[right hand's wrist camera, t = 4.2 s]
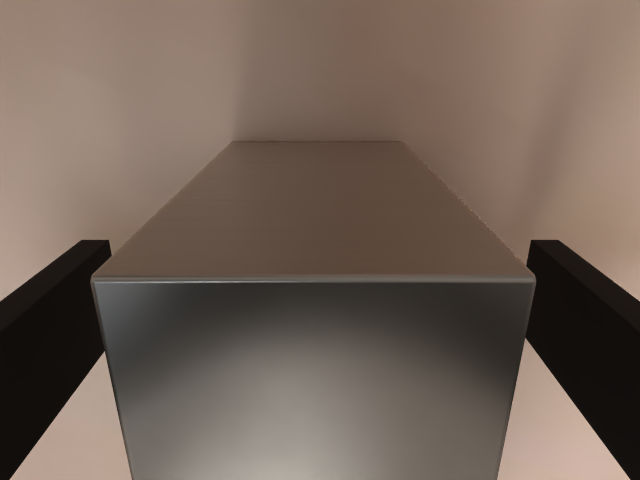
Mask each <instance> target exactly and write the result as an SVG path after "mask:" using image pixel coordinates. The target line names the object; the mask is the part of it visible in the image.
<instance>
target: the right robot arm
mask: <svg viewBox="0 0 640 480" xmlns="http://www.w3.org/2000/svg"><path fill="white" fill-rule="evenodd" d="M111 256H112V254H111V249H110V244H109V240H81V241H80V242H78V243H77V244H76V245H74V246H73V247H72V248H70V249H69V250H68V251H66V252H65V253H64V254H62V255H61V256H60V257H59V258H57V259H56V260H55V261H53V262H52V263H51V264H49V265H48V266H47V267H45V268H44V269H43V270H41V271H40V272H39V273H37V274H36V275H35V276H33V277H32V278H31V279H29V280H28V281H27V282H26V283H24V284H23V285H22V286H20V287H19V288H18V289H16V290H15V291H14V292H12V293H11V294H10V295H8V296H7V297H6V298H4V299H3V300H2V301H0V480H10V478H11V477H12V476H13V474H14V473H15V472H16V470H17V469H18V467H19V466H20V465H21V463H22V462H23V461H24V459H25V458H26V457H27V455H28V454H29V453H30V451H31V450H32V448H33V447H34V446H35V444H36V443H37V442H38V440H39V439H40V438H41V436H42V435H43V434H44V432H45V431H46V430H47V428H48V427H49V425H50V424H51V423H52V421H53V420H54V419H55V417H56V416H57V415H58V413H59V412H60V411H61V409H62V408H63V407H64V405H65V404H66V402H67V401H68V400H69V398H70V397H71V396H72V394H73V393H74V392H75V390H76V389H77V388H78V386H79V385H80V384H81V382H82V381H83V379H84V378H85V377H86V375H87V374H88V373H89V371H90V370H91V369H92V367H93V366H94V365H95V363H96V362H97V361H98V359H99V358H100V356H101V355H102V354H103V352H104V351H105V349H104V345H103V340H102V335H101V330H100V326H99V321H98V316H97V312H96V307H95V302H94V297H93V293H92V288H91V283H90V281H91V276H92V274H93V273H94V272H96V271H97V270H98V269H99V268H100V267H101V266H102V265H103V264H104V263H105V262H106V261H107V260H108V259H109V258H110V257H111ZM526 267H527V268H528V269H529V270H530V271H531V272H532V273H533V274H534V275H535V278H536V285H535V291H534V296H533V301H532V306H531V311H530V316H529V321H528V326H527V331H526V336H525V338H526V339H527V340H528V342H529V343H530V344H531V346H532V347H533V348H534V350H535V351H536V352H537V354H538V355H539V356H540V358H541V359H542V361H543V362H544V363H545V365H546V366H547V367H548V369H549V370H550V371H551V373H552V374H553V375H554V377H555V378H556V379H557V381H558V382H559V384H560V385H561V386H562V388H563V389H564V390H565V392H566V393H567V394H568V396H569V397H570V398H571V400H572V401H573V402H574V404H575V405H576V407H577V408H578V409H579V411H580V412H581V413H582V415H583V416H584V417H585V419H586V420H587V421H588V423H589V424H590V425H591V427H592V428H593V430H594V431H595V432H596V434H597V435H598V436H599V438H600V439H601V440H602V442H603V443H604V444H605V446H606V447H607V448H608V450H609V451H610V453H611V454H612V455H613V457H614V458H615V459H616V461H617V462H618V463H619V465H620V466H621V467H622V469H623V470H624V471H625V473H626V474H627V476H628V477H629V478H630V480H640V301H638V300H637V299H636V298H634V297H633V296H632V295H630V294H629V293H628V292H626V291H625V290H624V289H622V288H621V287H620V286H618V285H617V284H616V283H615V282H613V281H612V280H611V279H609V278H608V277H607V276H605V275H604V274H603V273H601V272H600V271H599V270H597V269H596V268H595V267H593V266H592V265H591V264H589V263H588V262H587V261H585V260H584V259H583V258H581V257H580V256H579V255H578V254H576V253H575V252H574V251H572V250H571V249H570V248H568V247H567V246H566V245H564V244H563V243H562V242H560V241H559V240H531V244H530V249H529V254H528V260H527V265H526Z"/></svg>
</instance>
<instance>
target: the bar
mask: <svg viewBox="0 0 640 480" xmlns="http://www.w3.org/2000/svg"><path fill="white" fill-rule="evenodd" d="M90 283H91V288H92V293H93V297H94V302H95V307H96V312H97V316H98V321H99V326H100V330H101V335H102V340H103V345H104V349H105V354H106V359H107V363H108V368H109V373H110V378H111V382H112V387H113V392H114V397H115V401H116V406H117V411H118V415H119V420H120V425H121V430H122V434H123V439H124V444H125V448H126V453H127V458H128V463H129V467H130V472H131V477H132V480H497V476H498V471H499V466H500V461H501V456H502V451H503V446H504V441H505V436H506V431H507V426H508V421H509V416H510V411H511V406H512V401H513V396H514V391H515V386H516V381H517V376H518V371H519V366H520V361H521V356H522V351H523V346H524V341H525V336H526V331H527V326H528V321H529V316H530V311H531V306H532V301H533V296H534V291H535V285H536V278H535V275H534V274H533V273H532V272H531V271H530V270H529V269H528V268H527V267H526V266H525V265H524V264H523V263H522V262H521V261H520V260H519V259H518V258H517V257H516V256H515V255H514V254H513V253H512V252H511V251H510V250H509V249H508V248H507V247H506V246H505V245H504V244H503V243H502V241H501V240H500V239H499V238H498V237H497V236H496V235H495V234H494V233H493V232H492V231H491V230H490V229H489V228H488V227H487V226H486V225H485V224H484V223H483V222H482V221H481V220H480V219H479V218H478V217H477V216H476V215H475V214H474V213H473V212H472V211H471V210H470V209H469V208H468V207H467V206H466V205H465V204H464V203H463V202H462V201H461V200H460V199H459V198H458V197H457V196H456V195H455V194H454V193H453V192H452V191H451V190H450V189H449V188H448V187H447V186H446V185H445V184H444V183H443V182H442V181H441V180H440V179H439V178H438V177H437V176H436V175H435V174H434V173H433V172H432V171H431V170H430V169H429V168H428V167H427V166H426V165H425V164H424V163H423V162H422V161H421V160H420V159H419V158H418V157H417V156H416V155H415V154H414V153H413V152H412V151H411V150H410V149H409V148H408V147H407V146H406V145H405V144H404V143H403V142H232V143H230V144H229V145H228V146H227V147H226V148H225V149H224V150H223V151H222V152H221V153H220V154H219V155H218V156H217V157H216V158H215V159H214V160H212V161H211V162H210V163H209V164H208V165H207V166H206V167H205V168H204V169H203V170H202V171H201V172H200V173H199V174H198V175H197V176H196V177H195V178H194V179H192V180H191V181H190V182H189V183H188V184H187V185H186V186H185V187H184V188H183V189H182V190H181V191H180V192H179V193H178V194H177V195H176V196H175V197H173V198H172V199H171V200H170V201H169V202H168V203H167V204H166V205H165V206H164V207H163V208H162V209H161V210H160V211H159V212H158V213H157V214H156V215H155V216H153V217H152V218H151V219H150V220H149V221H148V222H147V223H146V224H145V225H144V226H143V227H142V228H141V229H140V230H139V231H138V232H137V233H136V234H135V235H133V236H132V237H131V238H130V239H129V240H128V241H127V242H126V243H125V244H124V245H123V246H122V247H121V248H120V249H119V250H118V251H117V252H116V253H114V254H113V255H112V256H111V257H110V258H109V259H108V260H107V261H106V262H105V263H104V264H103V265H102V266H101V267H100V268H99V269H98V270H97V271H96V272H94V273H93V274H92V276H91V281H90Z"/></svg>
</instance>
